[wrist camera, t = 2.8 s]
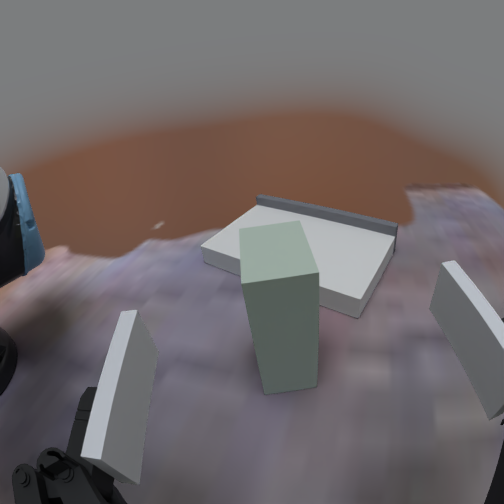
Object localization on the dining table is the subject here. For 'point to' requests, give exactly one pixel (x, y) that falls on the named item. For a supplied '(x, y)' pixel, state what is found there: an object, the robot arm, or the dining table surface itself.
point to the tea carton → (281, 304)
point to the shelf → (319, 248)
